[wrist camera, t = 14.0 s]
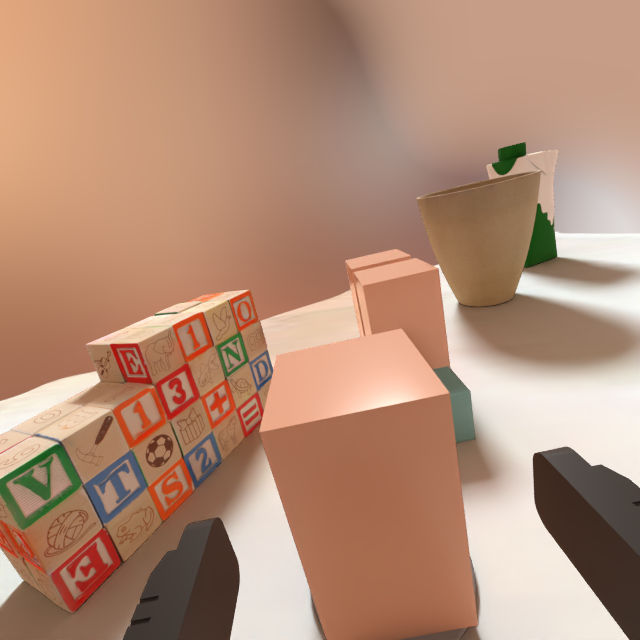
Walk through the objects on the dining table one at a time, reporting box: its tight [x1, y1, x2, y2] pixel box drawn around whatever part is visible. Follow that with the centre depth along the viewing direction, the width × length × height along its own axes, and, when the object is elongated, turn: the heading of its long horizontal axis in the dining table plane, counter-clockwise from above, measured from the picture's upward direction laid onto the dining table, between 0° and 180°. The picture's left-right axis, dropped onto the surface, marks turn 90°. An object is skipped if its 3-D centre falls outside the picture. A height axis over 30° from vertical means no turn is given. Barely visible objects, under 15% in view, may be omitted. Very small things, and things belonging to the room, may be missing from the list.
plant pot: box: [417, 170, 541, 307], centre depth 49 cm, size 15×15×16 cm
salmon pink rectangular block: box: [259, 328, 478, 640], centre depth 16 cm, size 6×6×11 cm
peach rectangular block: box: [345, 249, 411, 337], centre depth 41 cm, size 6×6×11 cm
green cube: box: [432, 366, 475, 443], centre depth 26 cm, size 4×4×4 cm
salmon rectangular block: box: [353, 258, 450, 369], centre depth 33 cm, size 6×6×11 cm
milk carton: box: [487, 143, 559, 267], centre depth 62 cm, size 9×9×20 cm
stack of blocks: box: [0, 290, 273, 613], centre depth 27 cm, size 21×6×12 cm, turn 153°
